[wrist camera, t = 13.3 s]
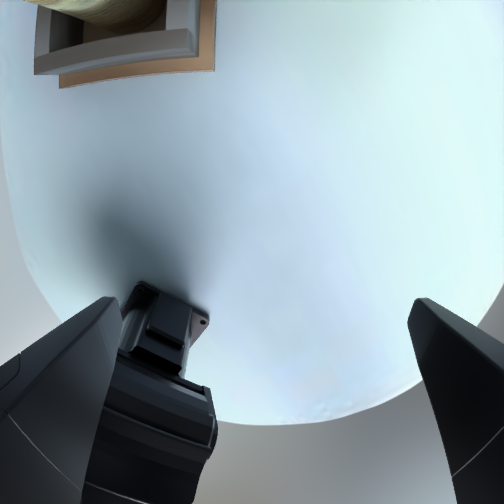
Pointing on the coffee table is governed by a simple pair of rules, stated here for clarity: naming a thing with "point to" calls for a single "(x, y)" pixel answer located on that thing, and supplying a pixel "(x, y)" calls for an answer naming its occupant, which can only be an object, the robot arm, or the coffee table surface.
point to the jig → (126, 45)
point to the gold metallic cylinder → (110, 12)
